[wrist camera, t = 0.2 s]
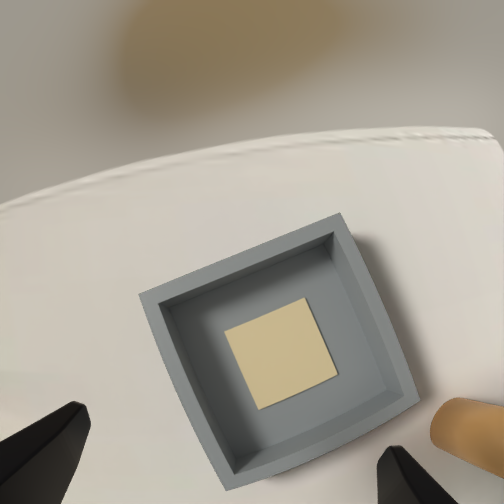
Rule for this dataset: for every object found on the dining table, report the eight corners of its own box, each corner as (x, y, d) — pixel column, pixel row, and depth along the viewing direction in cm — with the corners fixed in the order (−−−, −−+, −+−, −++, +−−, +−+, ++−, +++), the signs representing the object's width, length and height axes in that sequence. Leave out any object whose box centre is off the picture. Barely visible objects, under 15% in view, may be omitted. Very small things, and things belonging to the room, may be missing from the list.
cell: (476, 428, 21) (566, 453, 9) (436, 458, 20) (523, 502, 9) (465, 387, 22) (564, 399, 10) (424, 417, 21) (520, 452, 10)
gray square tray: (396, 392, 22) (420, 400, 18) (229, 468, 20) (226, 491, 16) (326, 230, 25) (340, 212, 21) (155, 300, 23) (138, 294, 19)
